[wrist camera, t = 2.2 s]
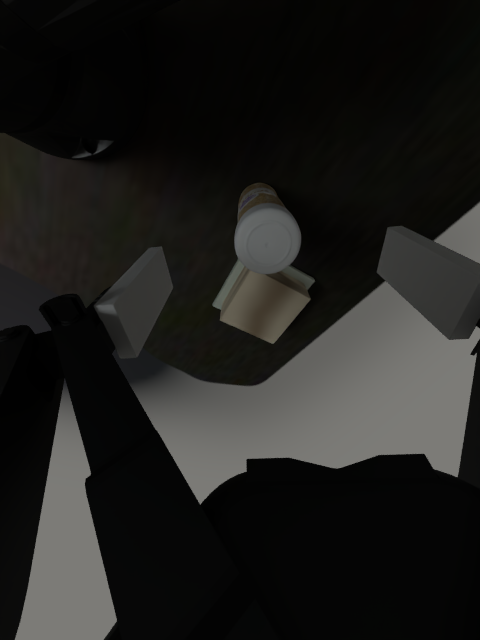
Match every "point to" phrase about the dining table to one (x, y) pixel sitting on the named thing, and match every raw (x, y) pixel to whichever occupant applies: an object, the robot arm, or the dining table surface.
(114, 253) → the dining table surface
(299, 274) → the plate
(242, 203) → the sprinkles bottle
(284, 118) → the dining table surface
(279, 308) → the beech block
